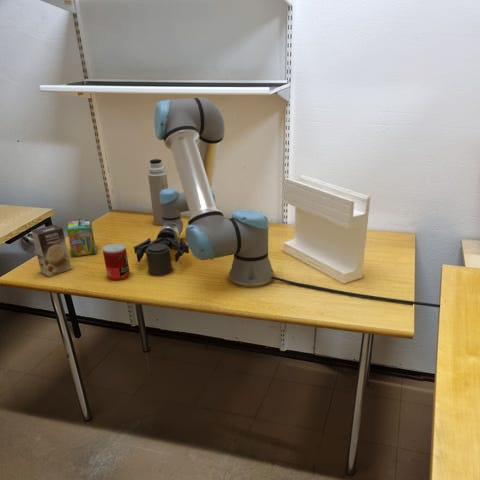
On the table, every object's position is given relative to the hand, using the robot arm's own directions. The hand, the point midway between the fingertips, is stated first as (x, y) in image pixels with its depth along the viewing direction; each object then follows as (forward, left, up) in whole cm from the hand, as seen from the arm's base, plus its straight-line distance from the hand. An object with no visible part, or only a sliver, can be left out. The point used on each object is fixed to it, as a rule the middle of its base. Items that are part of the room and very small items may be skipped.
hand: (157, 258), depth 169 cm
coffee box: (+30, +25, -6) cm, 39 cm away
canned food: (+9, +11, -6) cm, 15 cm away
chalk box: (+40, +9, -6) cm, 41 cm away
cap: (+2, -2, -6) cm, 6 cm away
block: (-35, -47, -6) cm, 59 cm away
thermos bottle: (+46, -33, -6) cm, 56 cm away
